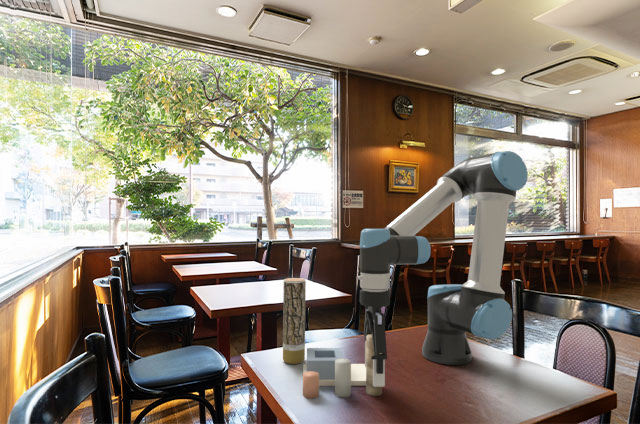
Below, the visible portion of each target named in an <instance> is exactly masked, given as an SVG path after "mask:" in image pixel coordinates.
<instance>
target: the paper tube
mask: <svg viewBox="0 0 640 424" xmlns="http://www.w3.org/2000/svg"><path fill="white" fill-rule="evenodd" d="M306 281H307V280H306V279H305V278H302V277H287V278H284V279H283V296H282V297H283V301H282V302H283V304H282V305H283V308H282V310H283V312H282V313H283V314H282V315H283V316H282V318H283V319H282V361H283V362H284V363H285V364H289V365H297V364H298V365H299V364H300V363H303V362H304V361H305V359H306V357H305V354H306V351H305V348H306V286H307V284H306Z"/></svg>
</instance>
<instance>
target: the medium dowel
mask: <svg viewBox="0 0 640 424" xmlns="http://www.w3.org/2000/svg"><path fill="white" fill-rule="evenodd" d="M351 364H352V360H351V359H350V358H349V359H348V358H345V357H344V358H341V359H337V360H335V386H334V395H335V396H337V397H339V398H347V397H350V396H351V395H352V394H351V393H352V392H351V391H352V386H351Z"/></svg>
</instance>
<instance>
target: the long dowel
mask: <svg viewBox="0 0 640 424" xmlns="http://www.w3.org/2000/svg"><path fill="white" fill-rule="evenodd" d="M365 342H366V385H365V388H366V389H365V393H366V394H367V395H369V396H373V397H378V396H381V395H382V394H383V387H373V359H371V357H372V356H374V349H373V339H372V334H370V335H367V336H366V341H365ZM379 354H382V353H379Z"/></svg>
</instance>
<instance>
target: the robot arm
mask: <svg viewBox="0 0 640 424" xmlns="http://www.w3.org/2000/svg"><path fill="white" fill-rule="evenodd" d="M528 173H529V172H528V169H527V165H526V163H525V161H524V160H523V158H522V157H521V156H520V155H519V154H517V153H516V152H514V151H512V150H505V151H495V152H493V153H492V152H491V153H487V154H483V155H479V156H471V157H469V158H466V159H463V161H461V162H459V163H457V164H456V165H455V166H453V167H452V168H450V169H449V170H448V171H447V172H445V173H444V174H443V175H442V176H441V177H439V178H438V179H437V181H436V185H434V186H433V187H432V188H431V189H430V190H428V191H427V192H426V193H425V194H424V195H423V196H422V197H420V198H418V200H417V201H416V202H414V203H413V204H411V206H409V207H408V208H407V209H406V210H405V211H403V212H402V213H401V214H400V215H399V216H397V217H396V218H395V219H394V220H393V221H391V222H390V223H389V224H388V225H386V226H385V227H384V228H363V229H362V230H361V231H360V239H359V268H360V270H359V271H360V273H359V274H360V275H358V276H357V279H358V281H359V287H360V288H361V289H360V290H359V303H360V305H362V306H363V307H365V312H364V313H365V314H364V325H363V327H364V328H363V336H364V341H365V342H364V364H365V367H366V336H367V335H370V334H372V339H373V349H374V356H372V357H371V359H373V387H382V388H383V387H386V375H385V374H386V371H385V370H386V360H388V354H387V353H388V351H387V336H386V335H387V334H386V316H385V315H384V312H382V308H383V307H388V306H389V305H390V294H391V293H390V291H389V290H388V289H390V286H391V272H390V271H391V266H395V265H396V266H397V265H415V266H416V265H420V264H421V265H422V264H425V263H426V262H428V260H429V259H430V258H431V257H430V256H431V253H432V252H431V249H432V248H431V244H430V242H429V240H428V239H427V238H426V237H425V236H422V235H421V236H420V235H418V236H417V235H416V234H417V233H419V232H420V231H421V230H422V229H423V228H424V227H426V226H427V225H428V224H429V223H431V221H433V220H434V219H435V218H436V217H437V216H439V215H440V214H441V213H442V212H443V211H444V210H445V209H447V208H448V207H449V206H450V205H452V203H458V202H460V201H461V200H462V199H464V198H466V197H468V196H471V195H472V197H473V198H474V199H475V200H476V201H477V204H476V213H475V219H474V228H473V229H474V230H473V236H472V246H471V253H470V259H469V262H470V263H469V270H468V275H467V276H468V277H467V281H466V282H464V283H463V284H458V283H457V284H454V283H453V284H452V283H451V284H434V285H431V286H429V287H428V290H427V296H426V298H427V332H426V335H425V338H424V341H423V342H422V343H423V344H422V347H421V351H422V352H421V355H422V356H423V357H424V358H425V359H426V360H428V361H430V362H433V363H438V364H443V365H449V366H461V365H467V364H470V363H471V362H473V361H472V359H473V356H472V355H473V354H472V350H471V347H470V343H469V340H468V337H467V333H469V334H470V335H473V336H475V337H477V338H482V339H485V340H496V339H499V338H500V337H502V336H503V335H504V334H506V333H507V331H508V330H509V328H510V326H511V324H512V320H513V311H512V308H511V305H510V304H509V303H508V301H507V300H505V295H506V294H505V293H506V292H505V291H504V290H503V289H502V287H501V279H502V278H501V277H502V271H503V259H504V251H505V241H506V234H507V224H508V217H509V216H508V215H509V210H510V209H509V208H510V205H511V203H513V202H514V201H515V200H516V197H517V191H520V190H521V189H523V188H524V186H526V185H527V182H528V177H529V175H528ZM379 353H382V354H379Z"/></svg>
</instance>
